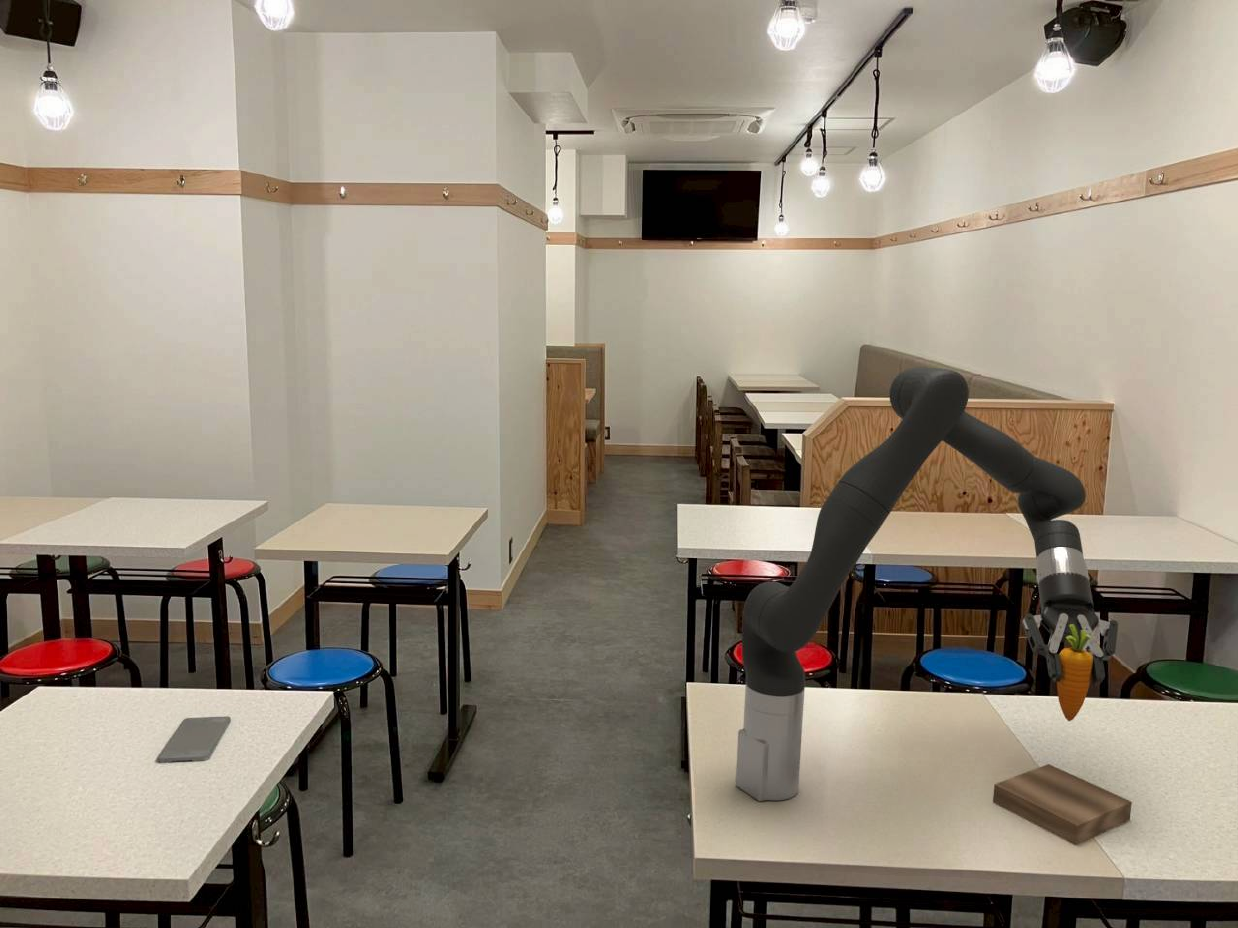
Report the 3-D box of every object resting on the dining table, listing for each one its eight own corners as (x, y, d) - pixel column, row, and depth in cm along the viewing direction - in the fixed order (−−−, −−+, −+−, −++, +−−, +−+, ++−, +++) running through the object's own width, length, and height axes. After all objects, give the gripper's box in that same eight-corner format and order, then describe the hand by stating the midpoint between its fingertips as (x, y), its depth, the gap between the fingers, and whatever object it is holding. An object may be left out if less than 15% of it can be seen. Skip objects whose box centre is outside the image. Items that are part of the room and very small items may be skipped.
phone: (155, 766, 154) (155, 758, 154) (184, 724, 170) (183, 717, 170) (208, 763, 156) (208, 756, 155) (231, 722, 171) (231, 715, 171)
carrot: (1091, 729, 142) (1101, 634, 140) (1055, 725, 143) (1065, 631, 141) (1081, 715, 147) (1092, 623, 144) (1047, 712, 148) (1057, 620, 145)
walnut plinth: (1075, 844, 137) (1077, 825, 137) (992, 801, 149) (994, 784, 149) (1129, 819, 145) (1131, 801, 144) (1046, 780, 157) (1048, 763, 156)
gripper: (1021, 567, 150) (1033, 667, 140) (1118, 574, 147) (1137, 676, 138) (1010, 590, 156) (1021, 687, 146) (1103, 596, 153) (1120, 696, 144)
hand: (1077, 681), depth 142 cm, fingers closed on carrot, 5 cm apart
